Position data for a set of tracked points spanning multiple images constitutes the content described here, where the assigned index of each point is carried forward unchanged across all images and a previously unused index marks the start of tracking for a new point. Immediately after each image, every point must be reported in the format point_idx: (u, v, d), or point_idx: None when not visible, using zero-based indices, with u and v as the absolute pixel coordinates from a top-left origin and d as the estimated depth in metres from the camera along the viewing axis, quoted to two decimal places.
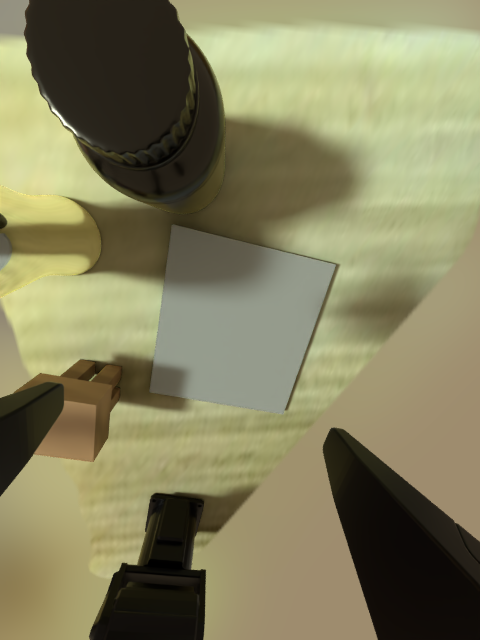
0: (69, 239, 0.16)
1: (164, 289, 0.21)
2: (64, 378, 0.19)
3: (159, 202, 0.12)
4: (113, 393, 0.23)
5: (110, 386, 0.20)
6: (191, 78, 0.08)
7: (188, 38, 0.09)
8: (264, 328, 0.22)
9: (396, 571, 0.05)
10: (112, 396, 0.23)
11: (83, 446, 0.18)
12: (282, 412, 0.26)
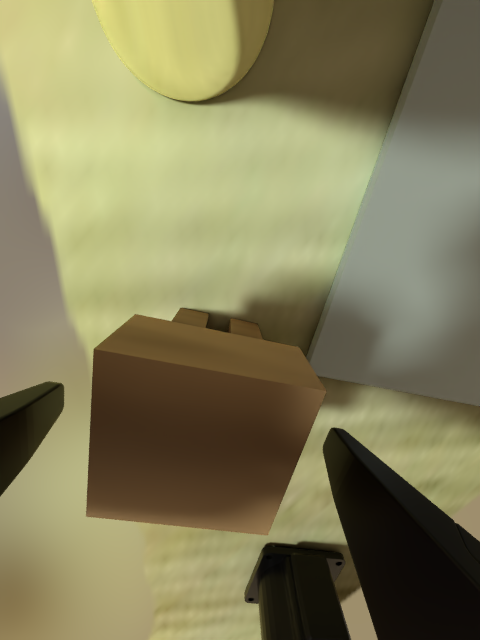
0: None
1: (394, 138, 0.09)
2: (194, 327, 0.08)
3: None
4: None
5: (298, 349, 0.08)
6: None
7: None
8: None
9: (396, 571, 0.05)
10: None
11: (257, 499, 0.07)
12: None
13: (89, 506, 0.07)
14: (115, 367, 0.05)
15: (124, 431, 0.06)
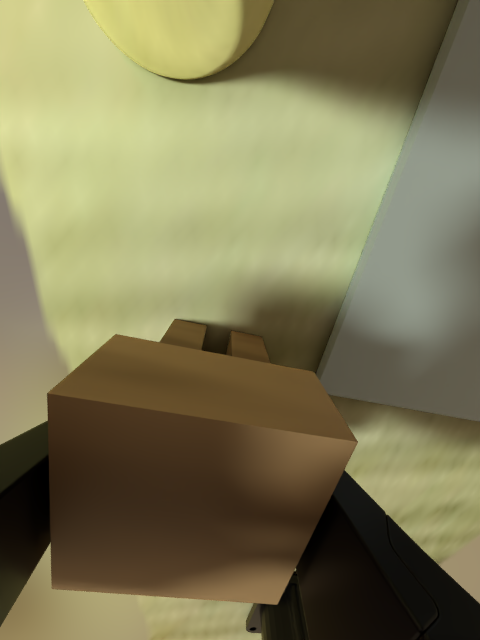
0: None
1: (424, 123, 0.08)
2: (187, 350, 0.06)
3: None
4: None
5: (313, 375, 0.07)
6: None
7: None
8: None
9: (325, 565, 0.05)
10: None
11: (264, 566, 0.06)
12: None
13: (54, 577, 0.05)
14: (78, 416, 0.04)
15: (94, 492, 0.05)
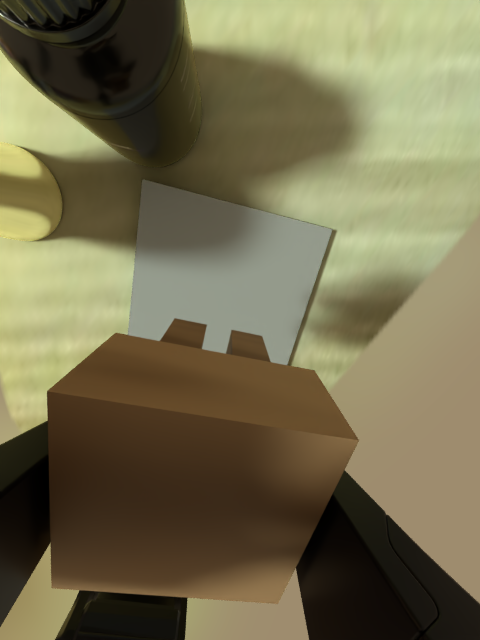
0: (14, 188, 0.14)
1: (136, 257, 0.18)
2: (188, 349, 0.06)
3: (102, 114, 0.09)
4: None
5: (314, 374, 0.07)
6: None
7: None
8: (251, 304, 0.20)
9: (325, 565, 0.05)
10: None
11: (265, 565, 0.06)
12: None
13: (54, 577, 0.05)
14: (78, 414, 0.04)
15: (93, 491, 0.05)
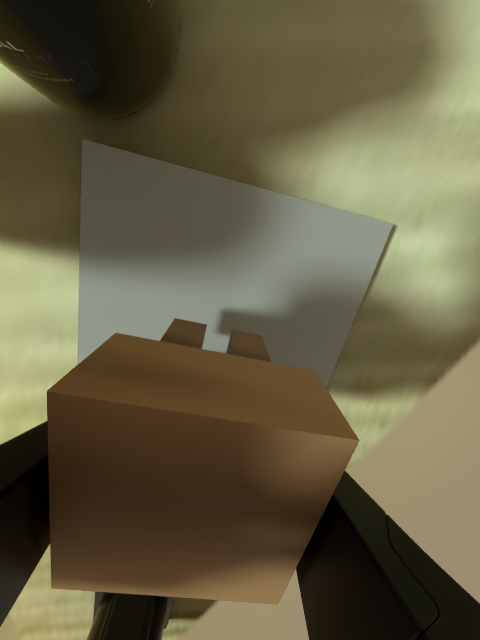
0: None
1: (81, 269, 0.11)
2: (188, 349, 0.06)
3: None
4: None
5: (314, 374, 0.07)
6: None
7: None
8: (263, 338, 0.13)
9: (325, 564, 0.05)
10: None
11: (265, 566, 0.06)
12: None
13: (54, 577, 0.05)
14: (78, 414, 0.04)
15: (93, 491, 0.05)
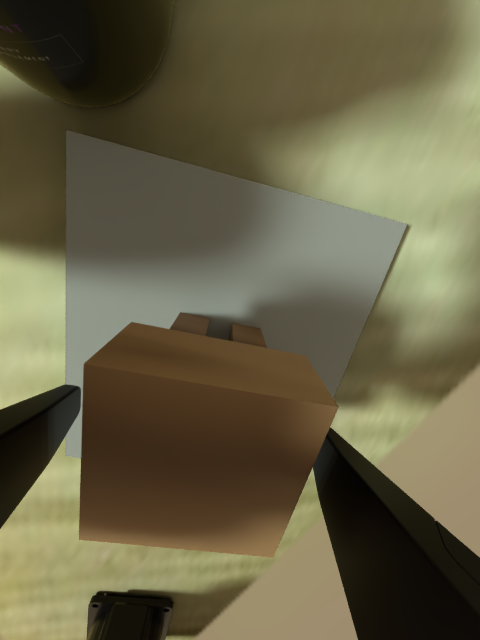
0: None
1: (68, 273, 0.10)
2: (194, 335, 0.07)
3: None
4: None
5: (305, 358, 0.08)
6: None
7: None
8: None
9: (376, 569, 0.05)
10: None
11: (262, 520, 0.07)
12: None
13: (81, 529, 0.06)
14: (107, 383, 0.05)
15: (118, 450, 0.06)
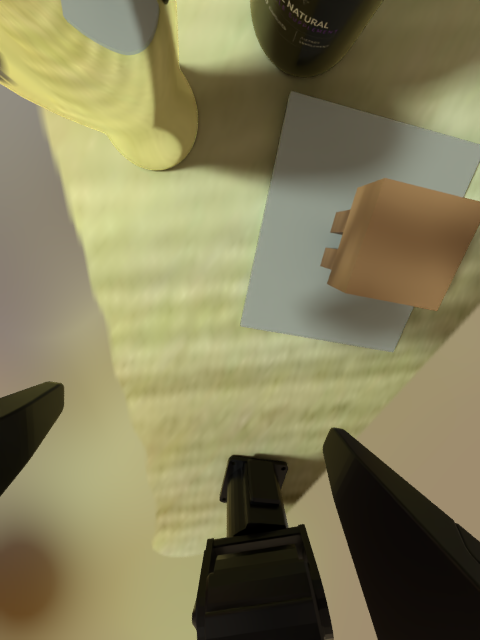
0: (182, 87, 0.12)
1: (272, 185, 0.17)
2: None
3: None
4: None
5: None
6: None
7: None
8: None
9: (396, 571, 0.05)
10: None
11: (437, 281, 0.13)
12: (392, 349, 0.22)
13: (349, 285, 0.13)
14: (391, 189, 0.11)
15: (382, 230, 0.12)
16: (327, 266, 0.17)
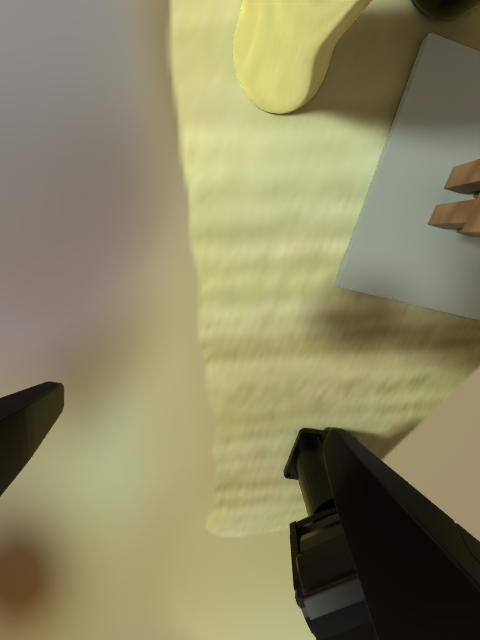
0: None
1: (394, 134, 0.16)
2: None
3: None
4: None
5: None
6: None
7: None
8: None
9: (396, 571, 0.05)
10: None
11: None
12: None
13: None
14: None
15: None
16: (443, 221, 0.17)
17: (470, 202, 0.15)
